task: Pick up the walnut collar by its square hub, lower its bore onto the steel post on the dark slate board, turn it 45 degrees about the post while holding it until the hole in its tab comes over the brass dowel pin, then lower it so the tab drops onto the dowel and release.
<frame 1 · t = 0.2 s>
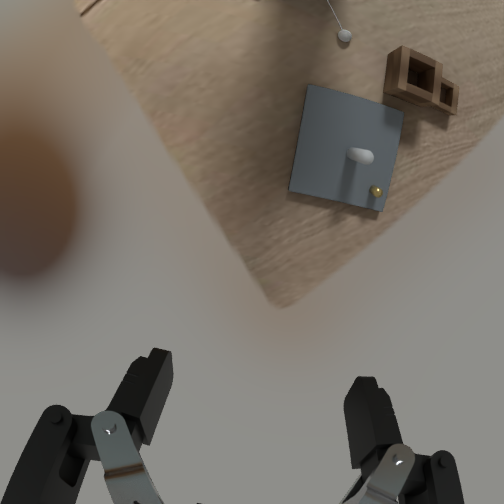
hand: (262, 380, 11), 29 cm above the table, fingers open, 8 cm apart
brass dowel: (370, 188, 35), resting on slate board
flange collar: (437, 94, 28), on the table
slate board: (347, 148, 33), on the table
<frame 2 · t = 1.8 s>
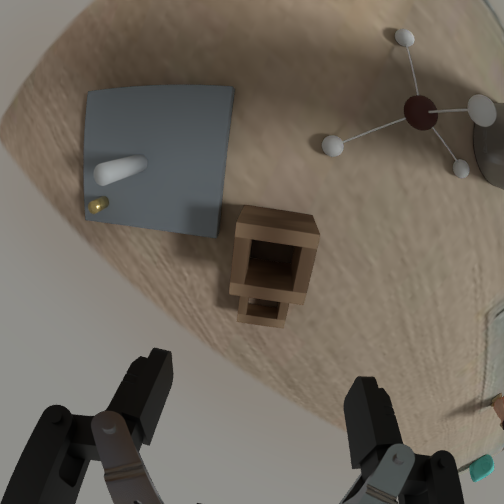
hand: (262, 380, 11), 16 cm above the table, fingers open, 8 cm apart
brass dowel: (110, 198, 25), resting on slate board
grandmother figurine: (496, 398, 35), on the table
flange collar: (264, 293, 28), on the table
molecular model: (416, 128, 21), on the table
slate board: (150, 156, 23), on the table
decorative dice: (478, 460, 51), on the table
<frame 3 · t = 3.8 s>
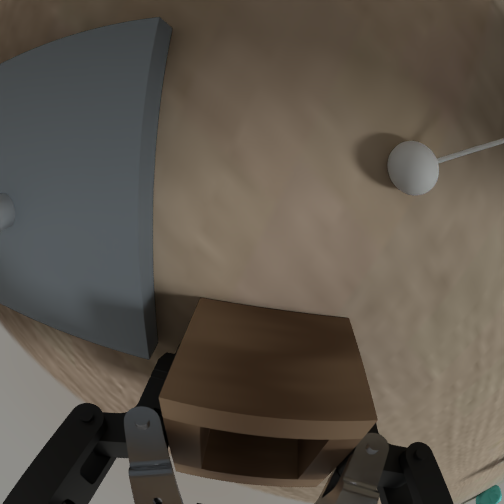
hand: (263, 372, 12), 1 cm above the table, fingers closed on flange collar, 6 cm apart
flange collar: (250, 422, 14), on the table, touching gripper
slate board: (27, 193, 10), on the table
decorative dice: (486, 490, 38), on the table
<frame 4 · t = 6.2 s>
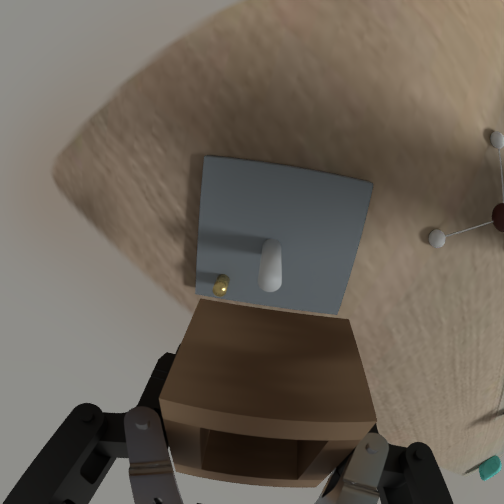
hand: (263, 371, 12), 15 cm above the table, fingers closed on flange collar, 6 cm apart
brass dowel: (225, 273, 27), resting on slate board
flange collar: (249, 423, 14), point 15 cm above the table, touching gripper
molecular model: (490, 217, 23), on the table
slate board: (278, 237, 25), on the table
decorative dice: (487, 460, 53), on the table
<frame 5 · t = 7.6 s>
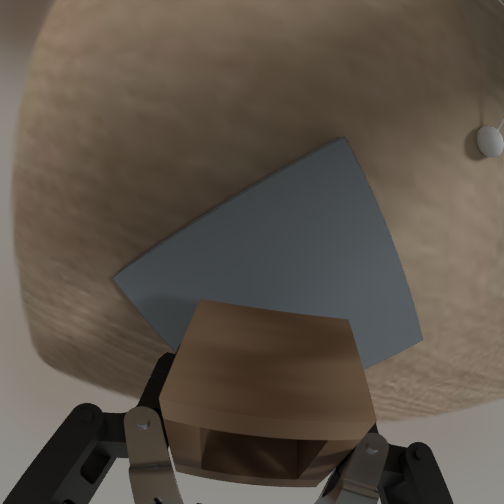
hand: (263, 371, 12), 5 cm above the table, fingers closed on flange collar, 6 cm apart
flange collar: (249, 422, 14), point 4 cm above the table, touching gripper
slate board: (278, 305, 16), on the table
when the fingers open (3 cm above the table, at t = 8.9 s): flange collar stays where it is, resting on slate board.
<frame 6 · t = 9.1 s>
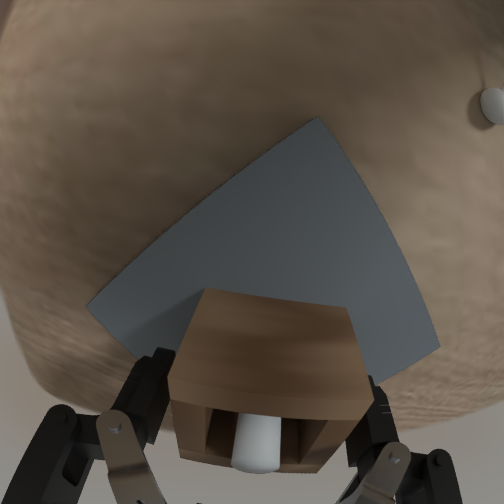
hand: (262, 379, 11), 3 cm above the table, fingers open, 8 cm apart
flange collar: (251, 412, 15), point 1 cm above the table, touching slate board
slate board: (268, 324, 14), on the table
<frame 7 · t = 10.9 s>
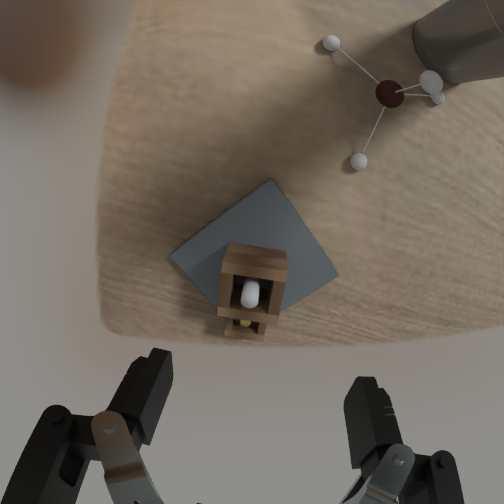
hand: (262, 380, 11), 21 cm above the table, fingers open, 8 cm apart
brass dowel: (247, 307, 35), resting on slate board
flange collar: (247, 312, 33), point 1 cm above the table, touching slate board
molecular model: (391, 97, 25), on the table
slate board: (254, 261, 32), on the table
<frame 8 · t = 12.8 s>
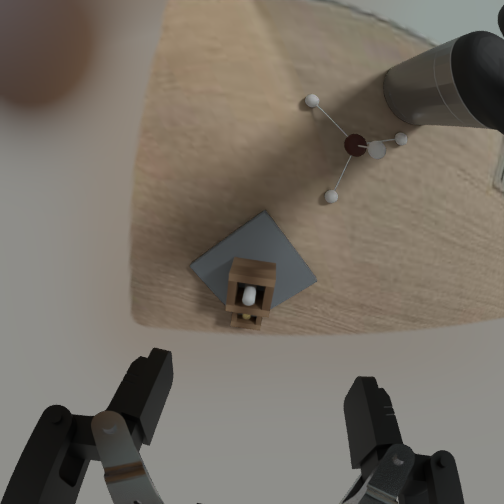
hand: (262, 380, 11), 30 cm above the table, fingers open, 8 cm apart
brass dowel: (248, 304, 45), resting on slate board
flange collar: (248, 308, 44), point 1 cm above the table, touching slate board
molecular model: (361, 142, 35), on the table
slate board: (253, 270, 43), on the table
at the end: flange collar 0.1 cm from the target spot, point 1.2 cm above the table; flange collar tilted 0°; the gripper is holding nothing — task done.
